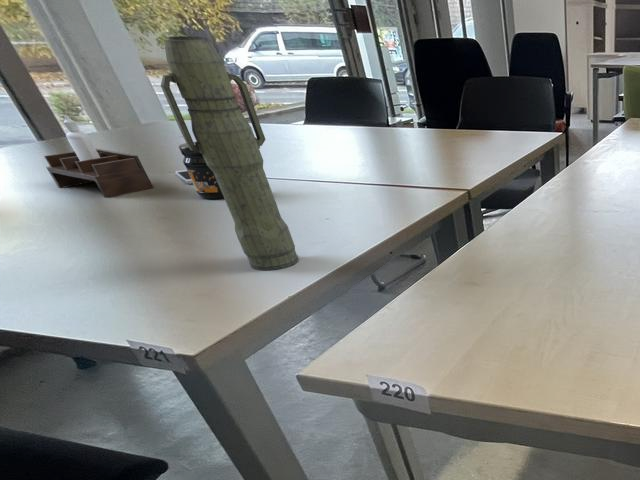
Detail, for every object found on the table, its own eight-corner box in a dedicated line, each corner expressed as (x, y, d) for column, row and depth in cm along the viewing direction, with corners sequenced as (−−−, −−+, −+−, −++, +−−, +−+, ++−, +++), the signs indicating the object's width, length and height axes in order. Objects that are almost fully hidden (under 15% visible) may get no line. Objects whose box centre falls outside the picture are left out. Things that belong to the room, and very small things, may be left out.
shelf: (106, 197, 133) (87, 163, 128) (58, 187, 140) (37, 154, 135) (153, 187, 142) (137, 155, 137) (105, 178, 149) (88, 147, 144)
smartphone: (202, 171, 157) (201, 167, 157) (216, 180, 149) (214, 176, 148) (176, 174, 153) (174, 170, 153) (188, 184, 145) (186, 180, 144)
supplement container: (189, 198, 135) (165, 146, 127) (221, 188, 142) (200, 139, 135) (221, 201, 133) (199, 149, 125) (252, 192, 140) (233, 142, 133)
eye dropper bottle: (86, 170, 135) (55, 117, 127) (83, 166, 138) (53, 114, 130) (106, 168, 138) (77, 115, 130) (102, 164, 141) (74, 113, 133)
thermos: (315, 260, 102) (238, 37, 80) (253, 276, 96) (151, 37, 73) (294, 249, 107) (216, 36, 84) (234, 264, 100) (132, 35, 77)
